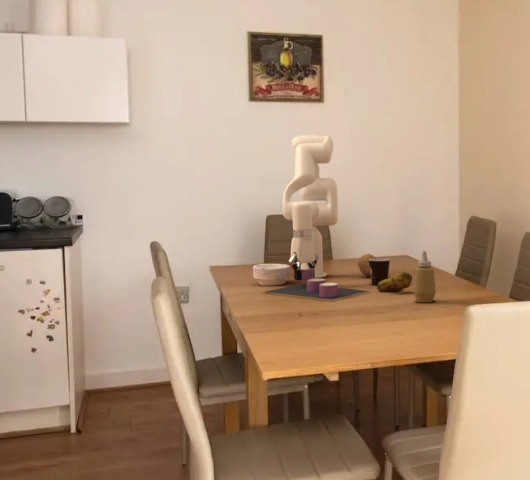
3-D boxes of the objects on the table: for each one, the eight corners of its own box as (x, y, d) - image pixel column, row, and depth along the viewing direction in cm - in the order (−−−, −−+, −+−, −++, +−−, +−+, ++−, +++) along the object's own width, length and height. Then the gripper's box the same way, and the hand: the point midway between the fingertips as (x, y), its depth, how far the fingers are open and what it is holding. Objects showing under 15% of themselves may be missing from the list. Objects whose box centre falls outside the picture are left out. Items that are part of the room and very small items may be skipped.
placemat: (264, 293, 300) (264, 291, 299) (302, 285, 317) (302, 283, 317) (331, 301, 280) (331, 299, 280) (368, 292, 298) (368, 290, 298)
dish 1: (291, 280, 308) (291, 268, 308) (303, 277, 314) (303, 266, 313) (305, 281, 304) (304, 270, 303) (317, 279, 310) (317, 268, 309)
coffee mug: (387, 285, 312) (387, 261, 310) (367, 285, 314) (366, 260, 312) (393, 281, 323) (393, 257, 321) (373, 281, 325) (373, 257, 323)
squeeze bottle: (421, 298, 283) (420, 249, 279) (440, 300, 278) (440, 250, 274) (409, 302, 276) (408, 251, 272) (428, 304, 272) (427, 253, 268)
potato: (382, 290, 303) (382, 269, 301) (414, 291, 299) (414, 270, 297) (375, 293, 295) (375, 272, 293) (408, 295, 291) (407, 273, 289)
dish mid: (302, 291, 298) (302, 280, 297) (315, 289, 303) (314, 277, 302) (317, 293, 294) (316, 281, 293) (329, 290, 299) (328, 279, 298)
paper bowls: (298, 284, 320) (297, 264, 318) (269, 288, 309) (268, 269, 308) (275, 280, 330) (274, 262, 328) (246, 285, 319) (245, 265, 318)
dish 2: (315, 296, 287) (314, 284, 286) (327, 293, 293) (327, 282, 292) (330, 298, 283) (329, 286, 282) (342, 295, 289) (342, 283, 288)
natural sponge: (369, 274, 343) (369, 252, 341) (383, 276, 337) (383, 253, 335) (354, 277, 337) (353, 254, 335) (368, 279, 331) (367, 255, 328)
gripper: (310, 232, 314) (311, 275, 318) (280, 235, 301) (282, 280, 304) (324, 232, 310) (325, 276, 314) (294, 236, 296) (296, 282, 300)
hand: (304, 278), depth 309 cm, fingers closed on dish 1, 7 cm apart
